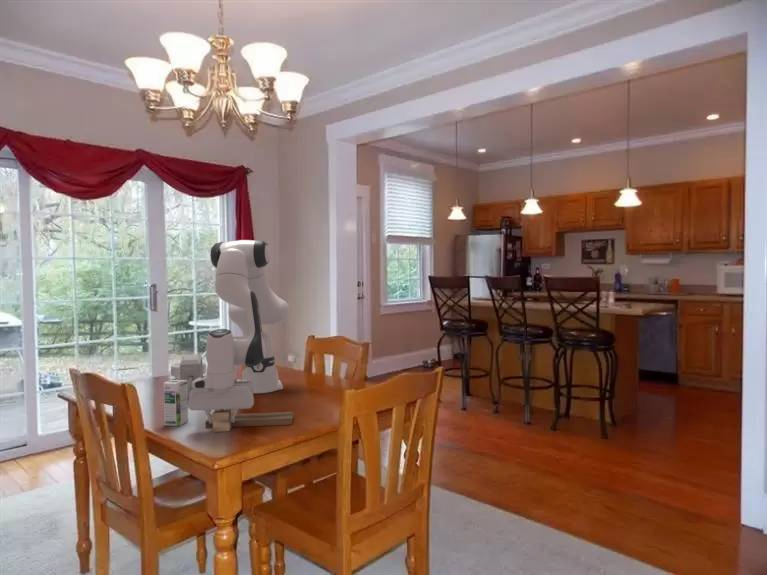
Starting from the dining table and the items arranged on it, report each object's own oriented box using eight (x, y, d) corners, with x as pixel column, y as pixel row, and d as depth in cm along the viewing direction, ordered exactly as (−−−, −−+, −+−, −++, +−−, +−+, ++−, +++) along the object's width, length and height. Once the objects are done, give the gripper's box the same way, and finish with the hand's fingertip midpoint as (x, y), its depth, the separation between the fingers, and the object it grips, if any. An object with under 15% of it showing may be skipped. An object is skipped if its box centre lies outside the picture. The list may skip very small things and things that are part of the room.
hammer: (192, 386, 193) (201, 352, 221) (170, 387, 191) (182, 353, 219) (195, 422, 197) (203, 384, 225) (173, 423, 196) (184, 386, 224)
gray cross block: (184, 376, 251) (184, 359, 250) (212, 377, 247) (212, 361, 246) (163, 383, 236) (163, 366, 236) (193, 385, 232) (192, 367, 232)
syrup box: (163, 425, 174) (162, 382, 173) (173, 420, 179) (172, 378, 179) (179, 426, 173) (178, 383, 172) (188, 421, 178) (187, 379, 178)
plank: (211, 420, 179) (211, 414, 179) (293, 417, 182) (293, 411, 182) (205, 427, 171) (205, 421, 171) (291, 424, 174) (291, 418, 174)
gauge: (221, 420, 179) (220, 400, 179) (236, 419, 179) (235, 400, 179) (213, 431, 167) (212, 410, 166) (229, 431, 167) (228, 410, 167)
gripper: (255, 377, 172) (256, 418, 173) (191, 379, 170) (192, 420, 171) (252, 381, 166) (253, 424, 167) (186, 383, 164) (187, 426, 165)
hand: (222, 422), depth 169 cm, fingers closed on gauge, 5 cm apart
